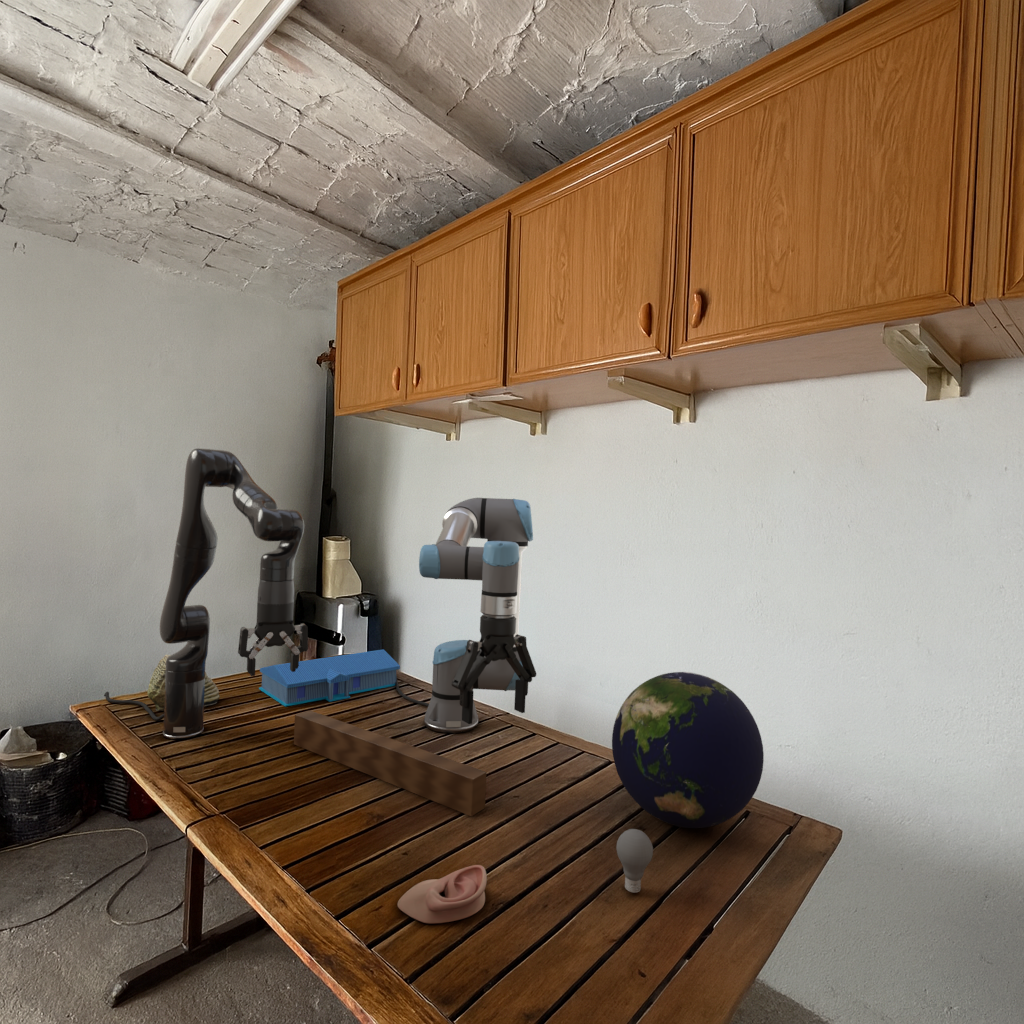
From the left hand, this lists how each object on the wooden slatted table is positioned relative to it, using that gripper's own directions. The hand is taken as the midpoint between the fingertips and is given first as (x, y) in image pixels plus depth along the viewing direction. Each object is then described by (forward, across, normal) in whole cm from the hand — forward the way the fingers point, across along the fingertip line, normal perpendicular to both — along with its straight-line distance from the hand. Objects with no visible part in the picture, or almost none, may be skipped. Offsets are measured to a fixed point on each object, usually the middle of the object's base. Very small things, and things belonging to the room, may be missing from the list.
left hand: (272, 672), depth 140 cm
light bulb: (+23, -44, +69) cm, 85 cm away
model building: (+24, -32, -60) cm, 72 cm away
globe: (+23, -70, +56) cm, 93 cm away
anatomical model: (+23, -15, +56) cm, 63 cm away
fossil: (+25, +11, -60) cm, 66 cm away
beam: (+24, -23, +7) cm, 34 cm away
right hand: (+5, -38, +33) cm, 50 cm away
